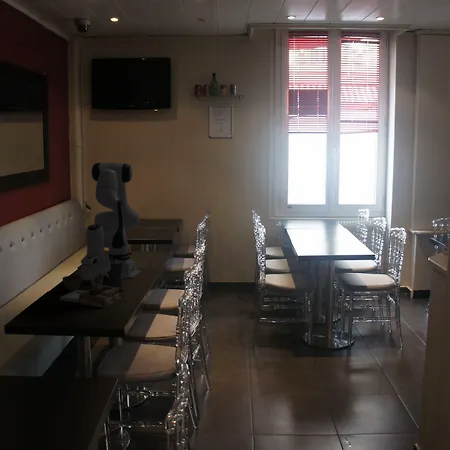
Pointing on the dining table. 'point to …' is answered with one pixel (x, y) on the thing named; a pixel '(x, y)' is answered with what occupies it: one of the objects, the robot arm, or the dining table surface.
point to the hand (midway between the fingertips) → (97, 284)
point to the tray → (72, 296)
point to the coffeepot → (115, 274)
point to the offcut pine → (107, 293)
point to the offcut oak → (114, 291)
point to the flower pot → (72, 282)
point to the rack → (99, 298)
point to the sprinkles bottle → (98, 284)
